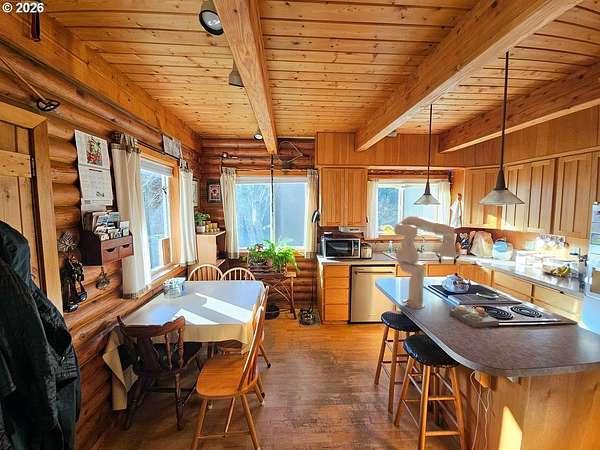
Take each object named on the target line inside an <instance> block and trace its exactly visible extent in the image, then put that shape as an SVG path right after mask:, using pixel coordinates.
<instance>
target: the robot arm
mask: <svg viewBox="0 0 600 450" xmlns="http://www.w3.org/2000/svg"><path fill="white" fill-rule="evenodd" d="M418 230H420V231H423V232H426V233H433V234H435V235H436V236H442V239H440V242H441V245H440V249H439V250H437V251H435V253H434V254H435V255H436V257H437V258H438V263H439V264H442V257H446V258H453V265H456V264H457V260H458V259H459V258H460V257H461V255H462V254H461V253H460V252H458V251H457V248H456V244H455V243H454V242H455V226H454V225H449V224H446V223H442V222H438V221H436V220H435V221H433V220H431V219H428V218H425V217H422V216H414V215H413V216H408V217H406V218H404V219H402V220H401V221H400V222H398V223H397V224H396V225H395V226H394V228H393V232H394V234H395V235H396V236H399V237H403V239H402V241H401V244H400V246H401V247H400V248H398V249H397V250H396V253H395V257H396V260H397V262H398V265H399V267H400V270H401V271H402V272H403V273H406V274H409V275H411V276H410V278H409V280H408V298H406V299H402V300H401V302H402V304H406V306H407V307H409V308H412V309H421V310H422V309H425V308H426V304H425V303H424V280H425V279H424V278H425V274H426V266H425V265H424V263H421V262H419V260H420V259H419V258H420V257H419V253H418V251H417V248H416V246H415V239H416V236H417V235H418ZM439 253H440V255H439Z"/></svg>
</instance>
